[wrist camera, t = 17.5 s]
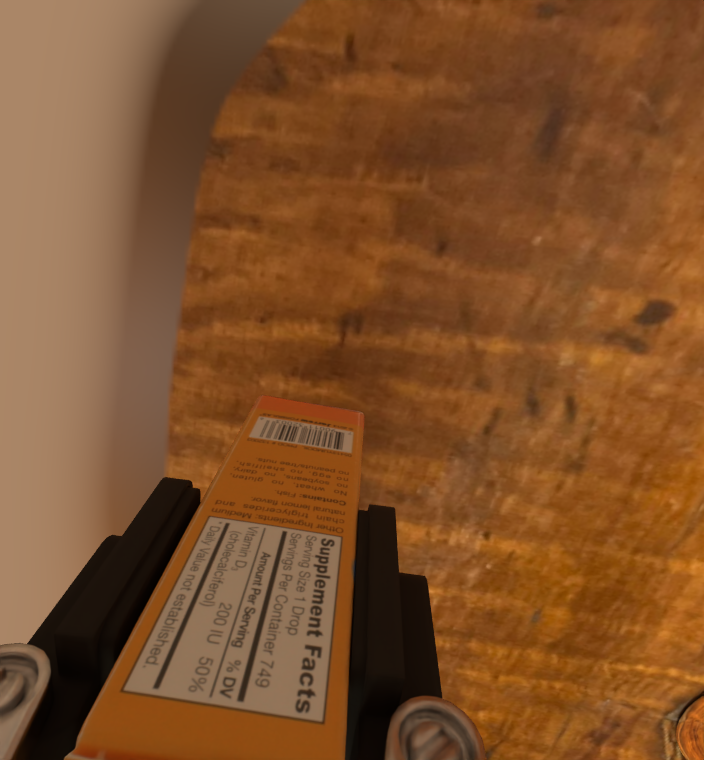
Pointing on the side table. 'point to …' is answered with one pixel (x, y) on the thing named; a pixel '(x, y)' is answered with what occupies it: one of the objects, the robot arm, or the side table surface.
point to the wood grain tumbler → (692, 731)
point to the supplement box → (249, 607)
